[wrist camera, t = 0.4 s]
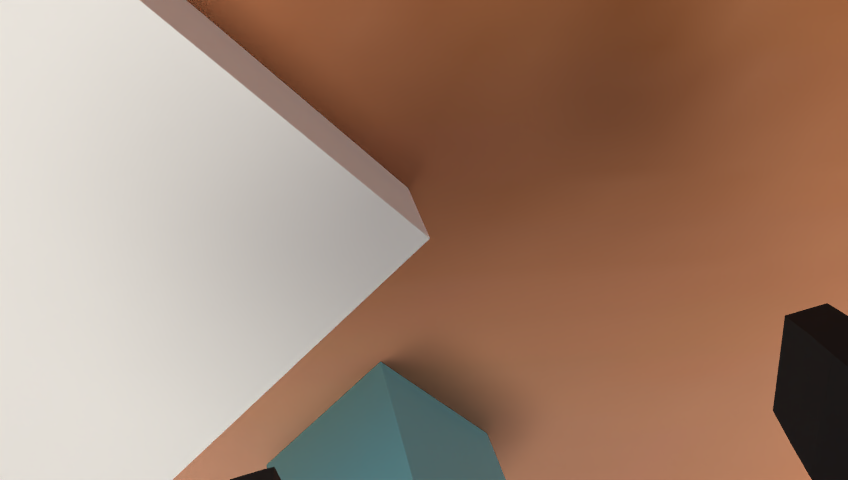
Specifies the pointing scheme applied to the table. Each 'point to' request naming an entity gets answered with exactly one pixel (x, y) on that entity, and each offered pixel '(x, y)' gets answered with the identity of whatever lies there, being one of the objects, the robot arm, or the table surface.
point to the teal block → (389, 438)
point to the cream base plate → (165, 235)
